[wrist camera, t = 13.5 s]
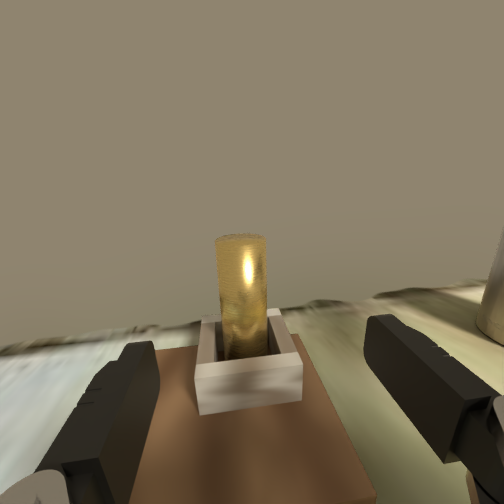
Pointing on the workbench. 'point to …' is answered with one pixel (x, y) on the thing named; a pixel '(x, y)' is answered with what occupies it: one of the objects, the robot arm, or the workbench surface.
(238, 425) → the socket block
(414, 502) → the workbench surface
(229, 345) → the golden metal peg
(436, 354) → the robot arm
